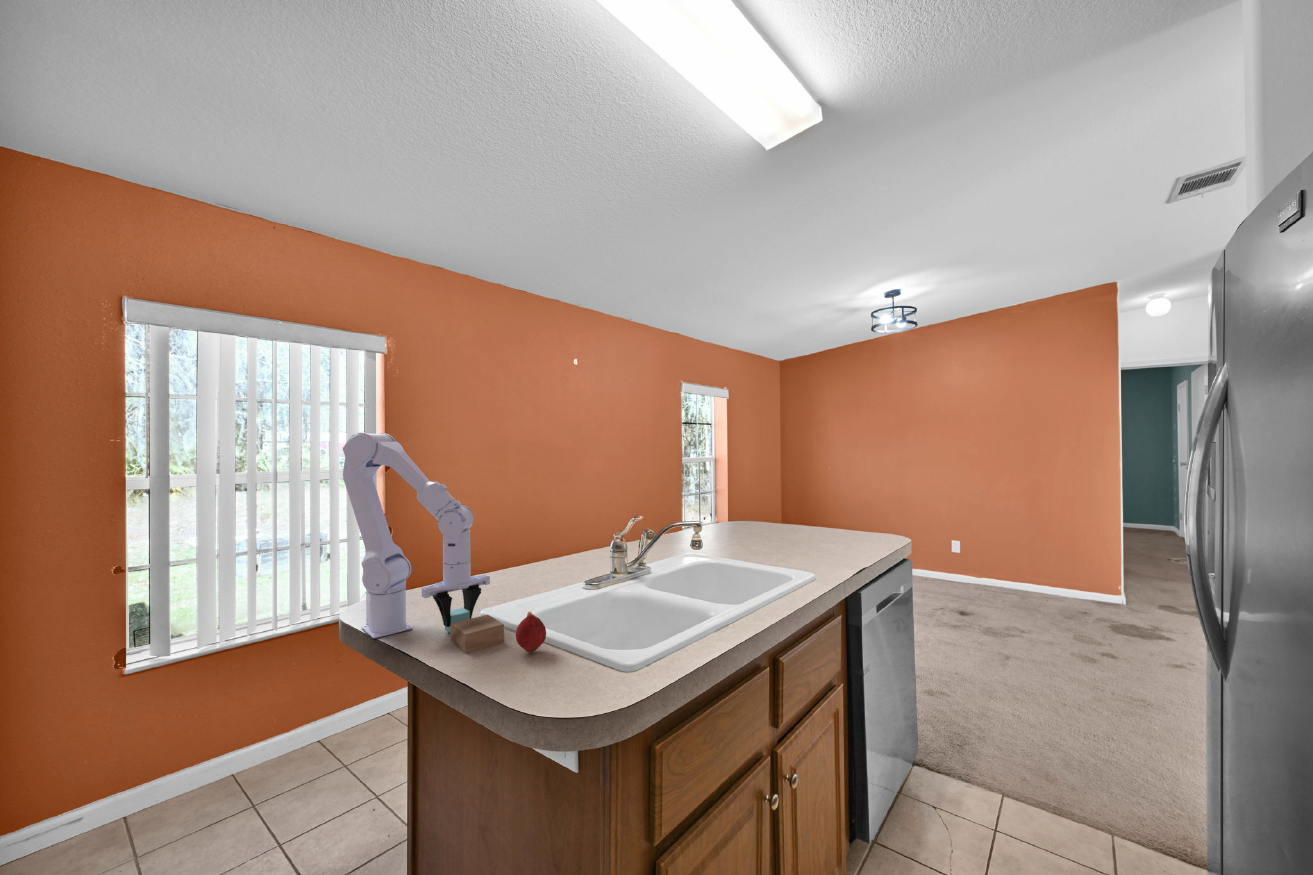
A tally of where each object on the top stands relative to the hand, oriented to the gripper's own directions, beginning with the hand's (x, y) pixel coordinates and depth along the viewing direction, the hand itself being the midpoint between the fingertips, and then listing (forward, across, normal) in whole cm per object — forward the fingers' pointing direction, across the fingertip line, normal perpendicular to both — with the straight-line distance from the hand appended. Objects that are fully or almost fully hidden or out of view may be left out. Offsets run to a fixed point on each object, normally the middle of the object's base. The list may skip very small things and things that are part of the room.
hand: (457, 622), depth 111 cm
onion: (+2, +5, -23) cm, 24 cm away
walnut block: (+2, 0, -10) cm, 10 cm away
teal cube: (+2, 0, 0) cm, 2 cm away
